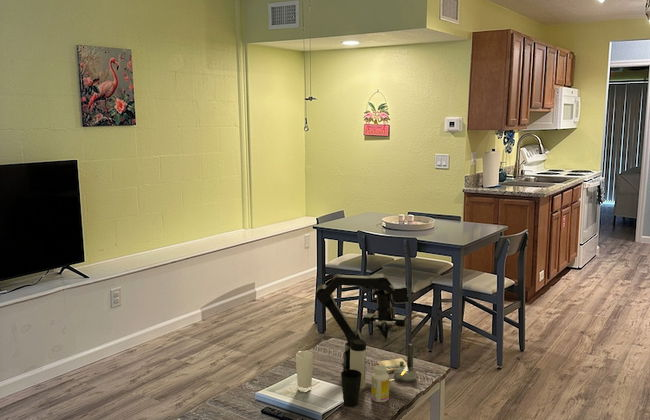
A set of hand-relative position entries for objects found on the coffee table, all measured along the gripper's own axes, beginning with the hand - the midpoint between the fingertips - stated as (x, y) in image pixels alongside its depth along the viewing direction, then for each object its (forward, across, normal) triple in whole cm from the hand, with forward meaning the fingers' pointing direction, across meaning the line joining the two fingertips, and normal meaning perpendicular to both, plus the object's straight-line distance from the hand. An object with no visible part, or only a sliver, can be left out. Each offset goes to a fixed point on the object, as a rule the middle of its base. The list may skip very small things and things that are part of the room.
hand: (386, 339), depth 254 cm
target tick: (+13, -5, +12) cm, 18 cm away
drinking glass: (+10, +24, +34) cm, 42 cm away
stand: (+13, -2, -1) cm, 13 cm away
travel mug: (+12, +5, +23) cm, 27 cm away
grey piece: (+13, -9, +5) cm, 17 cm away
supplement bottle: (+12, -6, +28) cm, 31 cm away
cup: (+11, +3, +36) cm, 38 cm away
